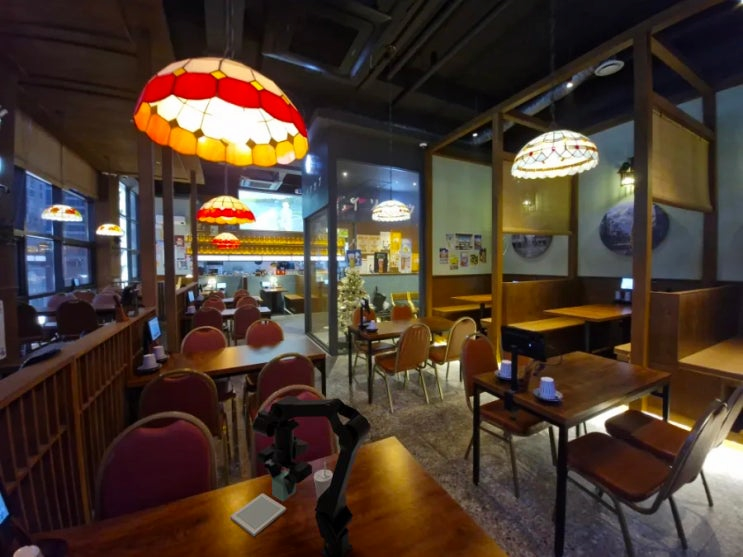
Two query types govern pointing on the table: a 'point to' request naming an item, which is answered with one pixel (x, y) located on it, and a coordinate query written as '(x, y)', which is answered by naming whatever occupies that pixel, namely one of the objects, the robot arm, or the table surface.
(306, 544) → the table surface
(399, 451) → the table surface
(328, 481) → the smoothie
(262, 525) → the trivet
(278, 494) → the cube
